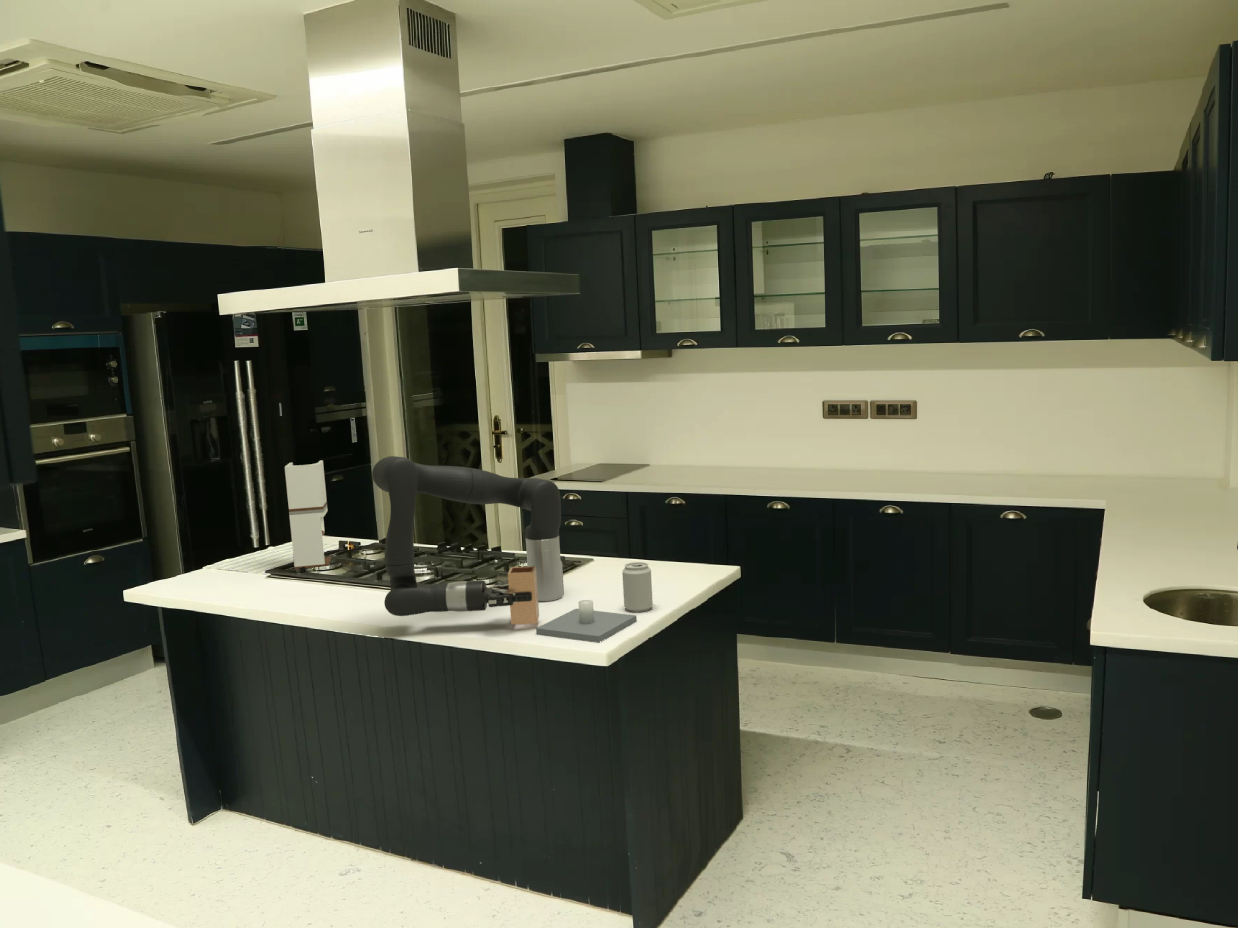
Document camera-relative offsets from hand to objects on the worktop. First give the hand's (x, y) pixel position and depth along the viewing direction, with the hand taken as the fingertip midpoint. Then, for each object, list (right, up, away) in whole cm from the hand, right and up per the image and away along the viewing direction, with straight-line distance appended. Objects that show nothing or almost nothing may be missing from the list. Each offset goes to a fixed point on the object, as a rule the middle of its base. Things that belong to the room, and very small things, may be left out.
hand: (532, 592), depth 244 cm
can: (+27, -6, +11) cm, 29 cm away
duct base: (+14, -8, -4) cm, 16 cm away
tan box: (-2, -7, +1) cm, 7 cm away
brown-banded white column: (-80, -2, +80) cm, 113 cm away
